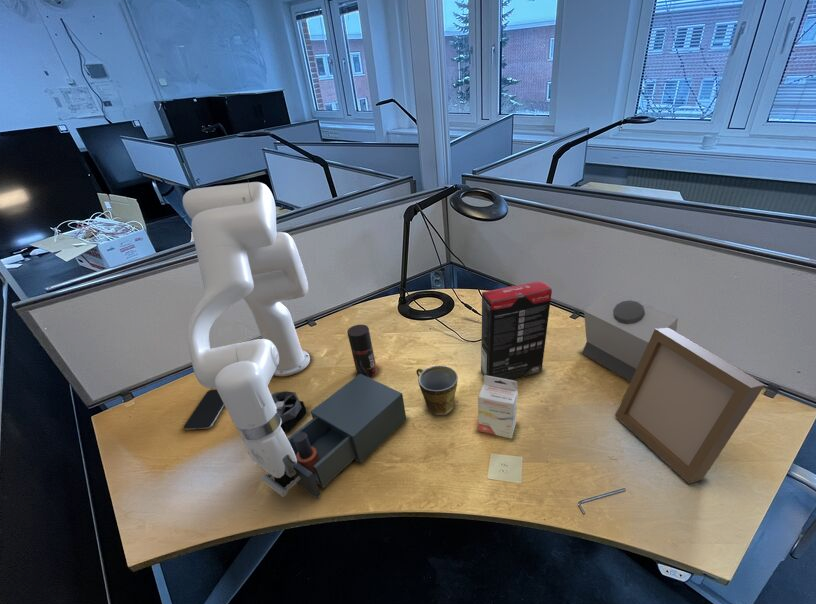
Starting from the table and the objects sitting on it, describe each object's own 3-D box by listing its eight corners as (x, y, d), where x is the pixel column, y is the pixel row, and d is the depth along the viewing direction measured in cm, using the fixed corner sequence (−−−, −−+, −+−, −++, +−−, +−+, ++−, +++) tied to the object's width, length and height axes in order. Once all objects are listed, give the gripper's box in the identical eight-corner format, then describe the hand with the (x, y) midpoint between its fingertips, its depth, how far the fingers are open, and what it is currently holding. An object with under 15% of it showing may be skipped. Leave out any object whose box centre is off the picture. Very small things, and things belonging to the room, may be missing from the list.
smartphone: (182, 428, 107) (208, 389, 119) (183, 430, 107) (209, 391, 119) (209, 427, 107) (233, 388, 119) (211, 428, 107) (234, 390, 119)
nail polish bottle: (297, 469, 92) (284, 439, 86) (312, 456, 95) (301, 426, 89) (309, 478, 90) (297, 448, 84) (325, 464, 93) (314, 434, 87)
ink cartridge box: (477, 432, 101) (476, 387, 92) (482, 418, 105) (482, 373, 96) (512, 439, 98) (514, 393, 90) (516, 425, 102) (518, 379, 94)
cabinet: (360, 463, 95) (353, 436, 90) (319, 437, 102) (310, 411, 97) (406, 419, 106) (402, 393, 101) (366, 399, 113) (360, 373, 108)
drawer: (297, 516, 84) (287, 495, 80) (259, 485, 90) (248, 464, 86) (368, 450, 97) (362, 428, 93) (330, 427, 104) (323, 406, 100)
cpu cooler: (306, 394, 107) (280, 421, 100) (312, 410, 111) (287, 437, 103) (275, 386, 111) (248, 412, 103) (281, 402, 114) (255, 427, 106)
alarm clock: (671, 369, 116) (692, 307, 104) (636, 392, 109) (654, 328, 98) (610, 337, 130) (623, 279, 119) (576, 356, 123) (586, 296, 112)
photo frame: (687, 486, 85) (728, 397, 71) (614, 418, 102) (634, 335, 88) (738, 461, 90) (785, 372, 75) (659, 400, 106) (686, 318, 92)
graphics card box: (533, 359, 123) (539, 277, 108) (544, 373, 118) (553, 288, 102) (480, 373, 119) (479, 289, 104) (489, 388, 114) (490, 302, 98)
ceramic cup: (467, 404, 109) (465, 375, 103) (441, 426, 103) (438, 396, 97) (432, 384, 117) (429, 356, 111) (406, 403, 111) (402, 374, 105)
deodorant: (373, 379, 120) (364, 337, 111) (354, 377, 121) (343, 335, 112) (379, 366, 125) (371, 325, 116) (361, 365, 126) (352, 323, 117)
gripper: (218, 418, 78) (250, 479, 89) (265, 452, 71) (293, 513, 81) (253, 396, 83) (279, 455, 94) (300, 424, 76) (323, 486, 86)
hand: (286, 482), depth 87 cm, fingers closed
